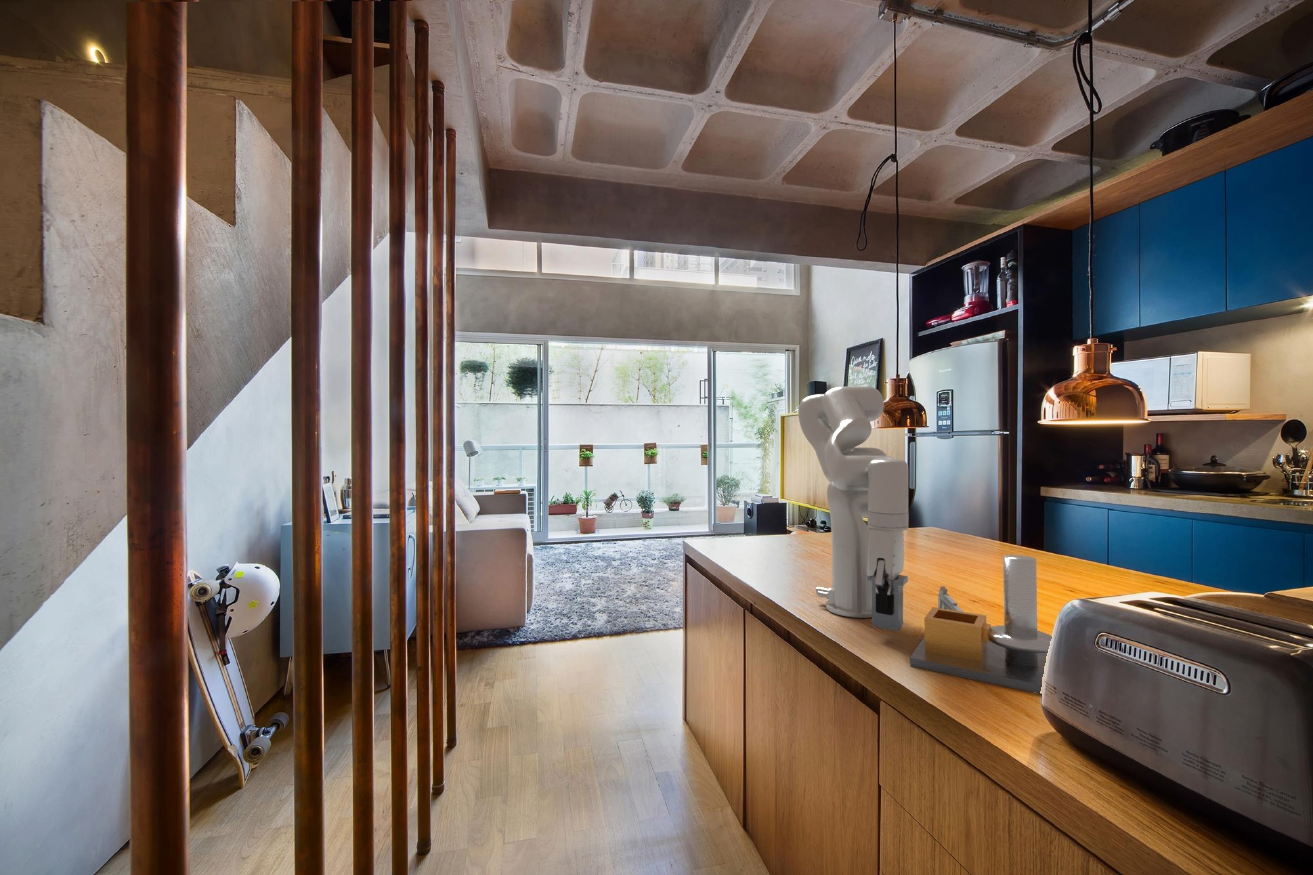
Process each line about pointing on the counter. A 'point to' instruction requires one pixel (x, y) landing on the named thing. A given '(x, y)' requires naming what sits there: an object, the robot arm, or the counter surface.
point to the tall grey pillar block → (896, 619)
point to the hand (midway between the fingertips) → (887, 609)
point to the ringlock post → (991, 636)
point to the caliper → (946, 600)
